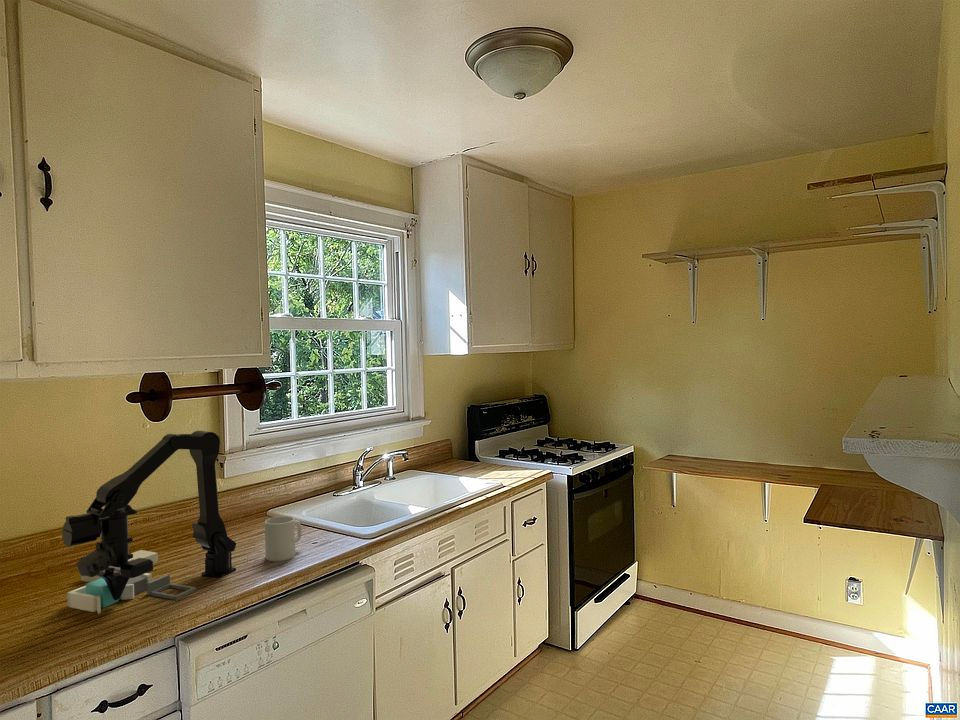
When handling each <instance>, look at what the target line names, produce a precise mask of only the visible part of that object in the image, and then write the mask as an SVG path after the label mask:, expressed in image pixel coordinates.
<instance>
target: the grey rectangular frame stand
mask: <svg viewBox="0 0 960 720" xmlns="http://www.w3.org/2000/svg"><path fill="white" fill-rule="evenodd" d="M146 584H147V588H146V595H147V596H152V597H158V598H164V599H170V600H175V601H177V600H179V599H181V598H183V597H185V596H188V595H190V594H192V593H194V592H196V591H197V586H196V587H195V586H190V585H183V584H177V583H173V582H172V583H171V575H170V574H165V575H162V576H160V577H158V578H155V579H152V581H150V582H148V583H146ZM168 589H177V590H184V591H181V592H180V593H178V594H173V593H172V594H170V593H167V592H166V593H165V592H163V591H165V590H168Z"/></svg>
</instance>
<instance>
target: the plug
mask: <svg viewBox="0 0 960 720" xmlns="http://www.w3.org/2000/svg"><path fill="white" fill-rule="evenodd" d="M85 586H86V594H90V595H95V596H98V595H99V596H100V602H101V609H102V608H103V609H104V608H106V607H109V606H111V605H114V604H117V603H118V602H120V601H119V600H120V599H118V600H114V599H113V597H112V595H111V592H110V590H109V588H108V586H107V583H106V582H105V580H104V579H98V580H95V581H93V582H90V583H89V582H87V583H86V584H85Z"/></svg>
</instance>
